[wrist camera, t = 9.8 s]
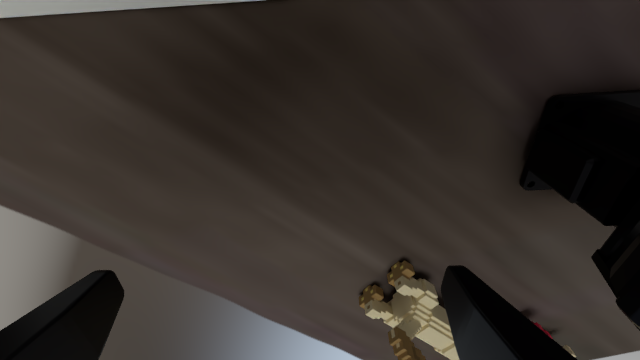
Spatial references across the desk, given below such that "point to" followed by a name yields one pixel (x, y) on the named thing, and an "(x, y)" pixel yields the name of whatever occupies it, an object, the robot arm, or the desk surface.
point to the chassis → (90, 6)
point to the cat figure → (413, 314)
